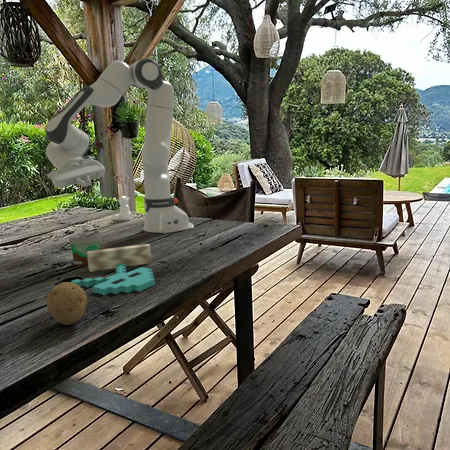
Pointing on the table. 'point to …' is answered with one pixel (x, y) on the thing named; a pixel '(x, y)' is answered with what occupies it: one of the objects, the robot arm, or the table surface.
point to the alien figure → (120, 281)
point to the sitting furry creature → (123, 210)
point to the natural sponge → (66, 302)
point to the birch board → (119, 257)
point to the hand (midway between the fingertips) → (87, 184)
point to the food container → (84, 247)
